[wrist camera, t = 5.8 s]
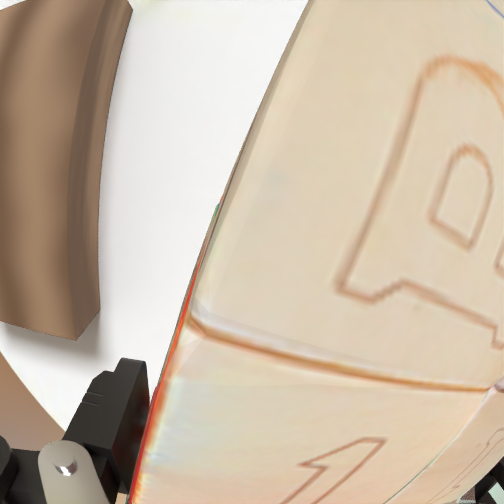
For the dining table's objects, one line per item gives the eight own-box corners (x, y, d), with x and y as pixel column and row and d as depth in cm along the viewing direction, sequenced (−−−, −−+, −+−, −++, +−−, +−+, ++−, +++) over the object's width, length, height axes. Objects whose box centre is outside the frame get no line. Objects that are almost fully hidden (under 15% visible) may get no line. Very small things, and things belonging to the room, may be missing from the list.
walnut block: (133, 9, 16) (114, -22, 11) (100, 309, 22) (76, 340, 17) (17, 32, 14) (-12, 15, 10) (-4, 288, 20) (-35, 309, 16)
